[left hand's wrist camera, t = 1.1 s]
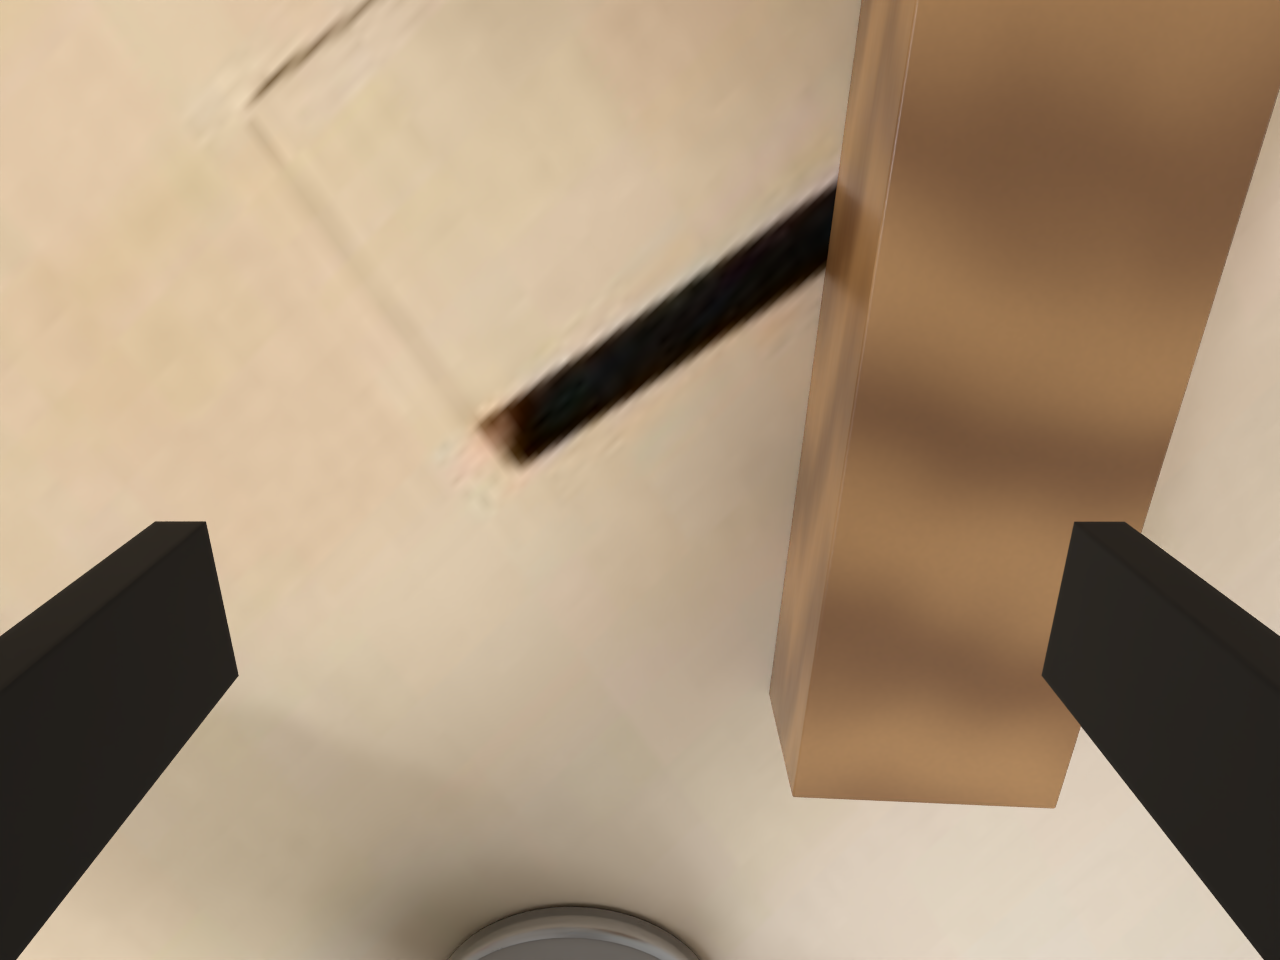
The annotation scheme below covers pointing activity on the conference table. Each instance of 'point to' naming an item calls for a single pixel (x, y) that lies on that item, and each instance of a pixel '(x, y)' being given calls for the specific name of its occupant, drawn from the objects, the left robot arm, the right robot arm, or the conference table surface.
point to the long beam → (998, 365)
